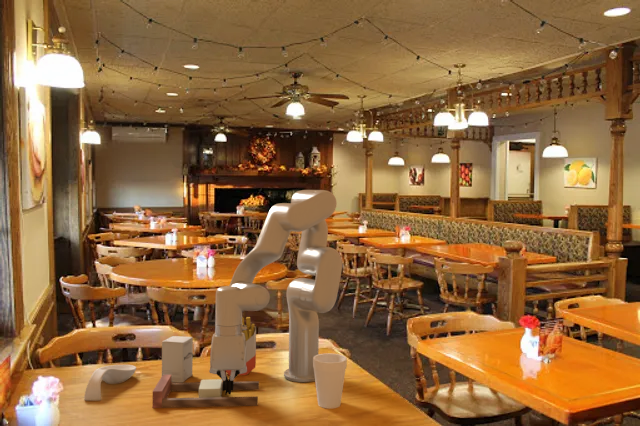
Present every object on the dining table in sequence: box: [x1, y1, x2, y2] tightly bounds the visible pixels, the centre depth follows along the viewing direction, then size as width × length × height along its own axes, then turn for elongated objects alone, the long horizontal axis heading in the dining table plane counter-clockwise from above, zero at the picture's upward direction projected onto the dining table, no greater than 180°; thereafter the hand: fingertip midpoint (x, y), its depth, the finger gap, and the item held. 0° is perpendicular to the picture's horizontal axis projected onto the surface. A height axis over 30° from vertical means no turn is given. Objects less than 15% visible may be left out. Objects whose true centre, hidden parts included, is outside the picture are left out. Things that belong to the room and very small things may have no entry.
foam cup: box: [313, 352, 348, 409], centre depth 153 cm, size 10×9×13 cm
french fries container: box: [226, 316, 257, 376], centre depth 179 cm, size 5×11×18 cm, turn 94°
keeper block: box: [198, 378, 223, 398], centre depth 158 cm, size 6×8×4 cm
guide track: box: [152, 374, 260, 409], centre depth 158 cm, size 28×14×4 cm, turn 95°
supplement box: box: [161, 335, 194, 383], centre depth 174 cm, size 7×7×13 cm
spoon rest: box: [83, 364, 137, 402], centre depth 166 cm, size 24×12×7 cm, turn 0°
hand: (228, 392), depth 158 cm, fingers closed
